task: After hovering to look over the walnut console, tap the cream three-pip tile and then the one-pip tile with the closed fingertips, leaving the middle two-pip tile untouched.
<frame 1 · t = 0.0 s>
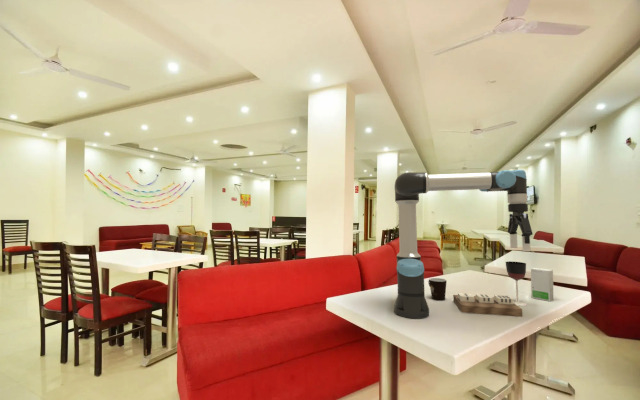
hand: (520, 249, 131), 28 cm above the table, tool pointing down, fingers open, 13 cm apart
tile two: (484, 298, 135), point 5 cm above the table, slide at 0.0 cm
wineglass: (517, 303, 142), on the table
tile one: (466, 297, 137), point 5 cm above the table, slide at 0.0 cm
tile three: (503, 299, 133), point 5 cm above the table, slide at 0.0 cm
skincare box: (542, 299, 149), on the table
coffee mug: (437, 298, 152), on the table
console: (484, 308, 134), on the table
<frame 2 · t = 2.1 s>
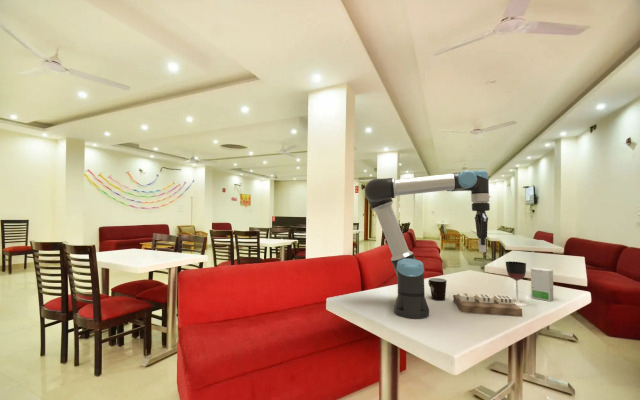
hand: (482, 251, 136), 26 cm above the table, tool pointing down, fingers closed
nothing on the table moved.
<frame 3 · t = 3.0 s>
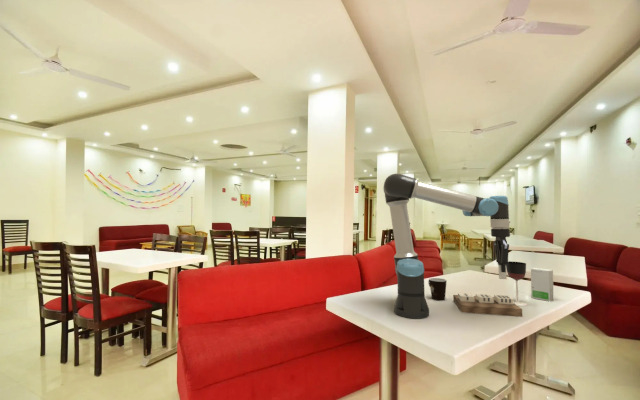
hand: (502, 278, 133), 14 cm above the table, tool pointing down, fingers closed
nothing on the table moved.
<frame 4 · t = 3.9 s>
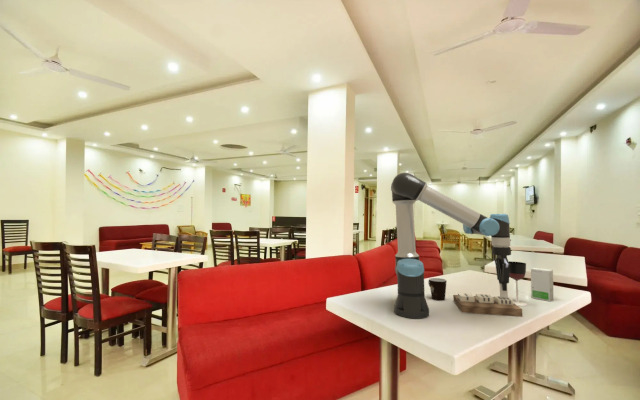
hand: (504, 297, 133), 6 cm above the table, tool pointing down, fingers closed
tile three: (503, 300, 133), point 4 cm above the table, slide at 0.6 cm, touching gripper
everything else where it was.
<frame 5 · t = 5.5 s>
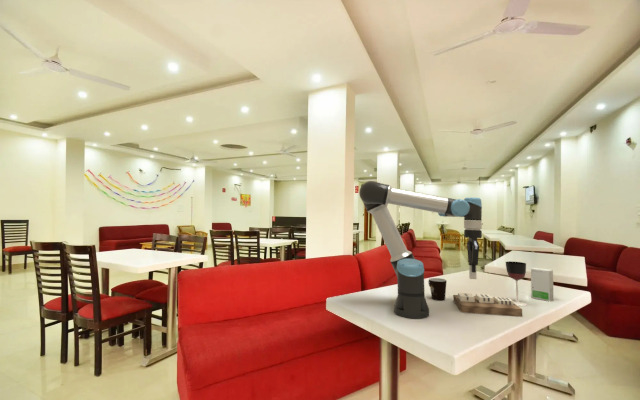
hand: (472, 278, 136), 14 cm above the table, tool pointing down, fingers closed
tile three: (503, 301, 133), point 4 cm above the table, slide at 0.9 cm
everything else where it was.
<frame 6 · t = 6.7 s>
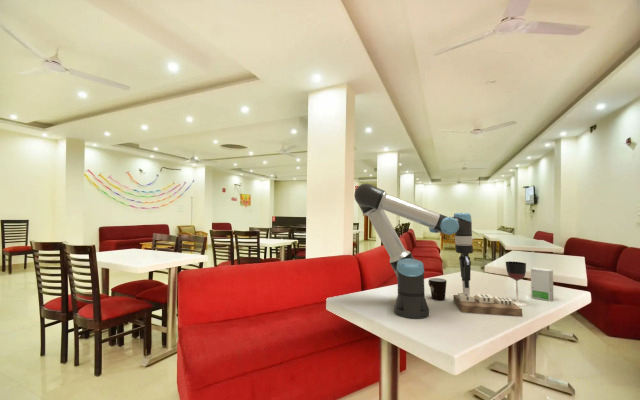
hand: (466, 294, 137), 6 cm above the table, tool pointing down, fingers closed
tile one: (466, 297, 137), point 5 cm above the table, slide at 0.0 cm, touching gripper
everything else where it was.
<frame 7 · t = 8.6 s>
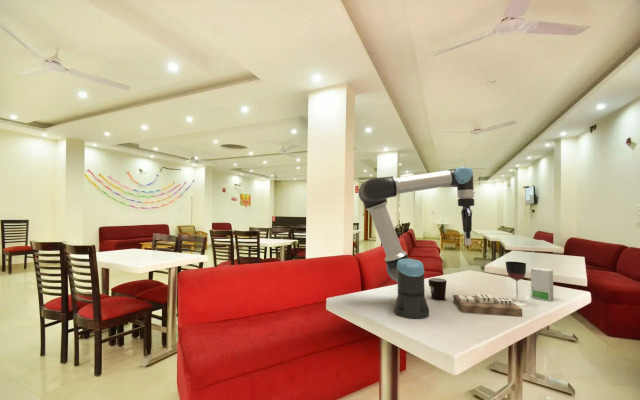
hand: (467, 244, 145), 29 cm above the table, tool pointing down, fingers closed
tile one: (466, 299, 137), point 3 cm above the table, slide at 1.1 cm
everything else where it was.
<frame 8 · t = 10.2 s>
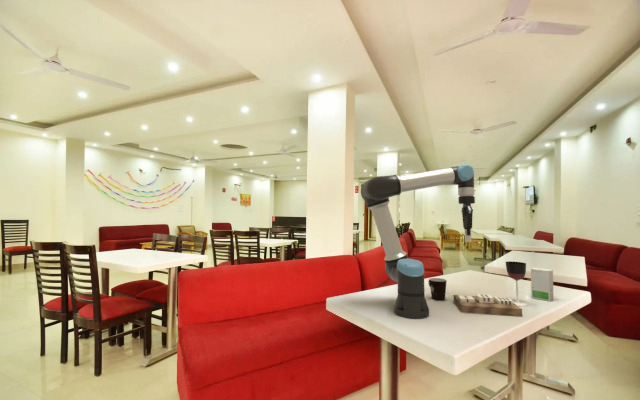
hand: (468, 241, 146), 30 cm above the table, tool pointing down, fingers closed
nothing on the table moved.
at the end: tile three slide at 0.9 cm; tile one slide at 1.1 cm; tile two slide at 0.0 cm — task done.
